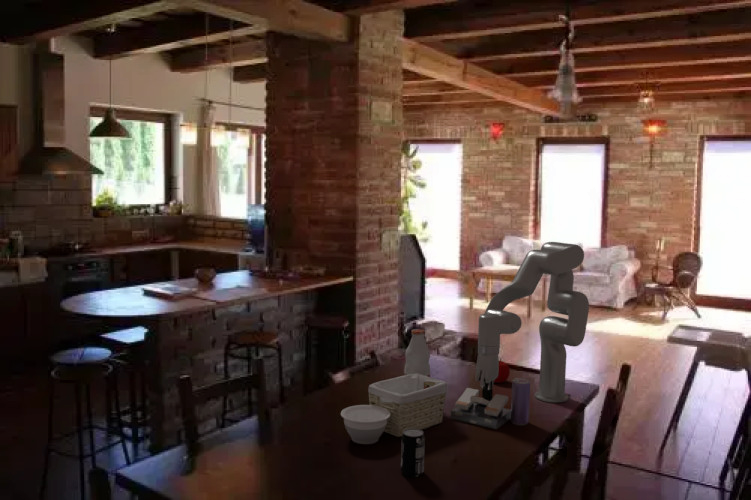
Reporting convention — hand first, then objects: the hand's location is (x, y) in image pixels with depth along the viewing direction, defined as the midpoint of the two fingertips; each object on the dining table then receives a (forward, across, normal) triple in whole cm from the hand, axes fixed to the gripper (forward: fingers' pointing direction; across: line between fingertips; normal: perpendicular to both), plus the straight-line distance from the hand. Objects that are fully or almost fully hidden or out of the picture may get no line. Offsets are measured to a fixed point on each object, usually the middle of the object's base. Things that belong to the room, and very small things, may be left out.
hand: (487, 399), depth 242 cm
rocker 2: (0, +4, 0) cm, 5 cm away
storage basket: (+6, +25, -18) cm, 31 cm away
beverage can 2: (+6, 0, +12) cm, 14 cm away
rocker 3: (0, +4, +5) cm, 7 cm away
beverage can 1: (+5, +56, +2) cm, 57 cm away
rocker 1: (0, +4, -6) cm, 7 cm away
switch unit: (+6, +5, 0) cm, 7 cm away
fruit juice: (+6, +6, -26) cm, 27 cm away
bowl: (+5, +44, -23) cm, 49 cm away
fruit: (+6, -39, -13) cm, 42 cm away
